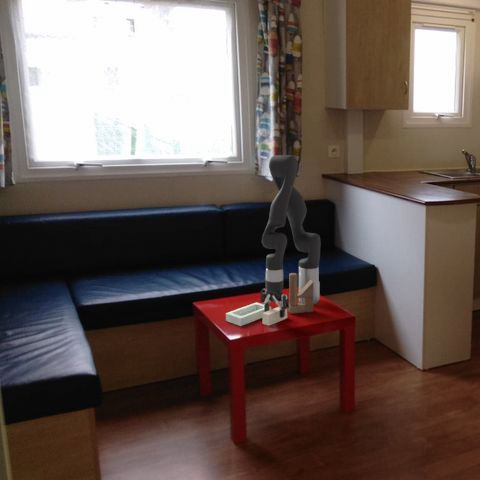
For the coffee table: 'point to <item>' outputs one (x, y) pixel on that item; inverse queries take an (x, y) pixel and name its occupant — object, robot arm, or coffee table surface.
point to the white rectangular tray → (246, 314)
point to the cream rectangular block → (272, 316)
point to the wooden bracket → (300, 296)
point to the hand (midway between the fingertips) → (274, 315)
